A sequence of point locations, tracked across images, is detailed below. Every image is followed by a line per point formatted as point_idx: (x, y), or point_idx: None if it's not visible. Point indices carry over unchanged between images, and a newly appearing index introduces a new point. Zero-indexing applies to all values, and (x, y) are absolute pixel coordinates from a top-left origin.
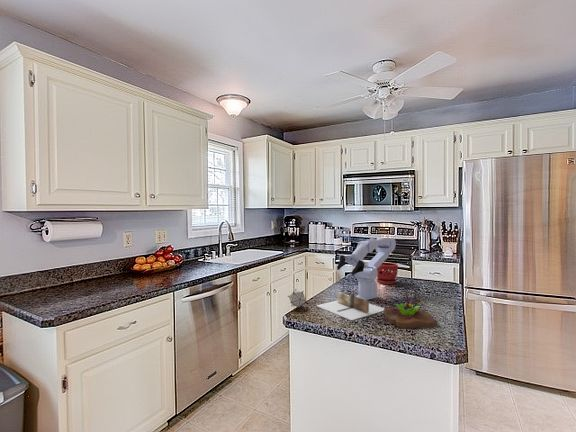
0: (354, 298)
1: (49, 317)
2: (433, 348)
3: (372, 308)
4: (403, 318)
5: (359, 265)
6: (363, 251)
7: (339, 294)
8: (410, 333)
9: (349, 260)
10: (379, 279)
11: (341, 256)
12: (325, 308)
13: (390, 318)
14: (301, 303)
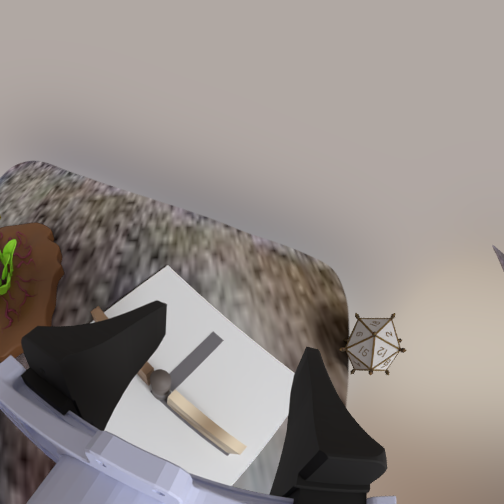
0: (150, 366)
1: (494, 247)
2: (47, 165)
3: None
4: (26, 240)
5: (81, 327)
6: None
7: (233, 438)
8: (46, 207)
9: (216, 489)
10: None
11: (361, 443)
12: (267, 359)
13: (56, 247)
14: (349, 337)
